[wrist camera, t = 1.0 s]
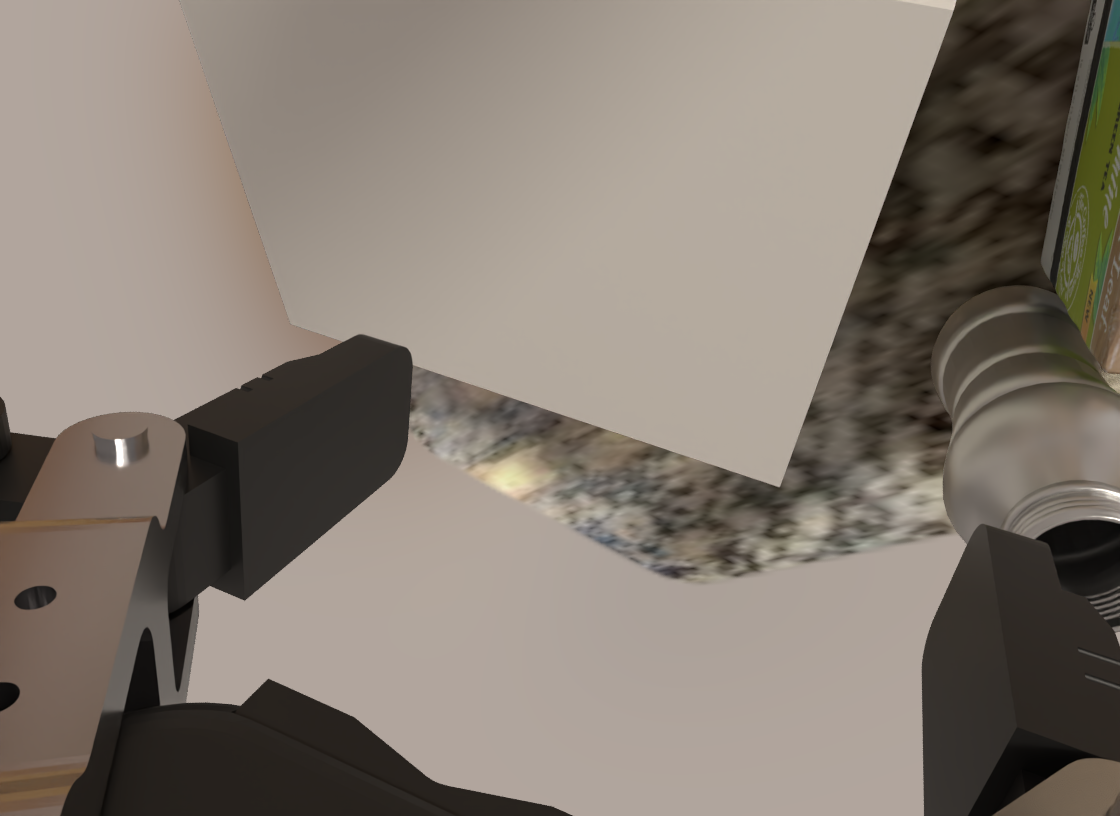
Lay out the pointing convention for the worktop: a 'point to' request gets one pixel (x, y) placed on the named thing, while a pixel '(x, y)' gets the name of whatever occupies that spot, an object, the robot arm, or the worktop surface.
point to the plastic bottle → (1033, 435)
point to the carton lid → (579, 191)
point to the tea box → (1091, 193)
